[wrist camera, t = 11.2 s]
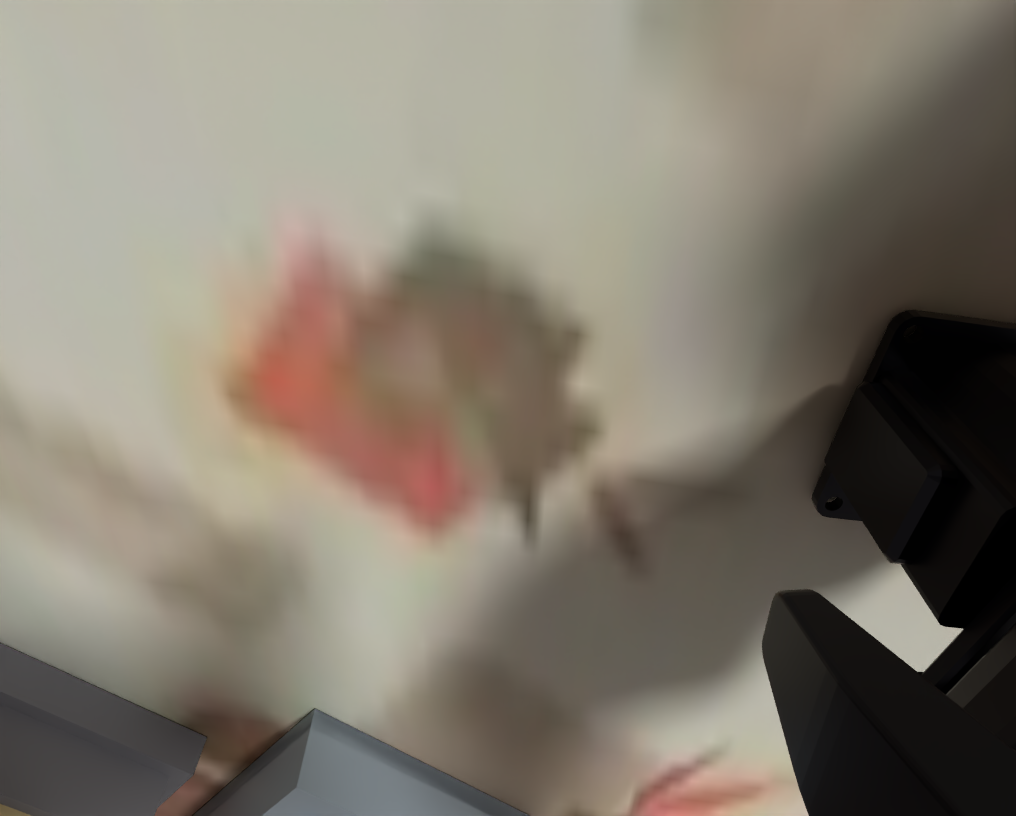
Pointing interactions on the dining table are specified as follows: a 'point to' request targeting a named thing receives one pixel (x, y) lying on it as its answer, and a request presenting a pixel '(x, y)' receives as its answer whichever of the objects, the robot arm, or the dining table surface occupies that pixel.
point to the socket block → (83, 747)
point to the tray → (345, 780)
